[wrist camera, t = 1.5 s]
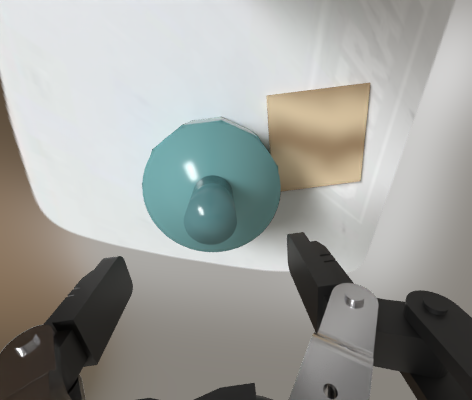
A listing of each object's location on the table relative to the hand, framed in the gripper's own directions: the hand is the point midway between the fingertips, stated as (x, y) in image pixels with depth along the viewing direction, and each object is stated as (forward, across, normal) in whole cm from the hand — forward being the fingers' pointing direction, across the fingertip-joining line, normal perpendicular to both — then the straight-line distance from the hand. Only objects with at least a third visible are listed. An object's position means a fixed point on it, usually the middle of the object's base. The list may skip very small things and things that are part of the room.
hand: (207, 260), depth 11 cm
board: (+16, -12, -2) cm, 20 cm away
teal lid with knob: (+16, 0, 0) cm, 16 cm away
